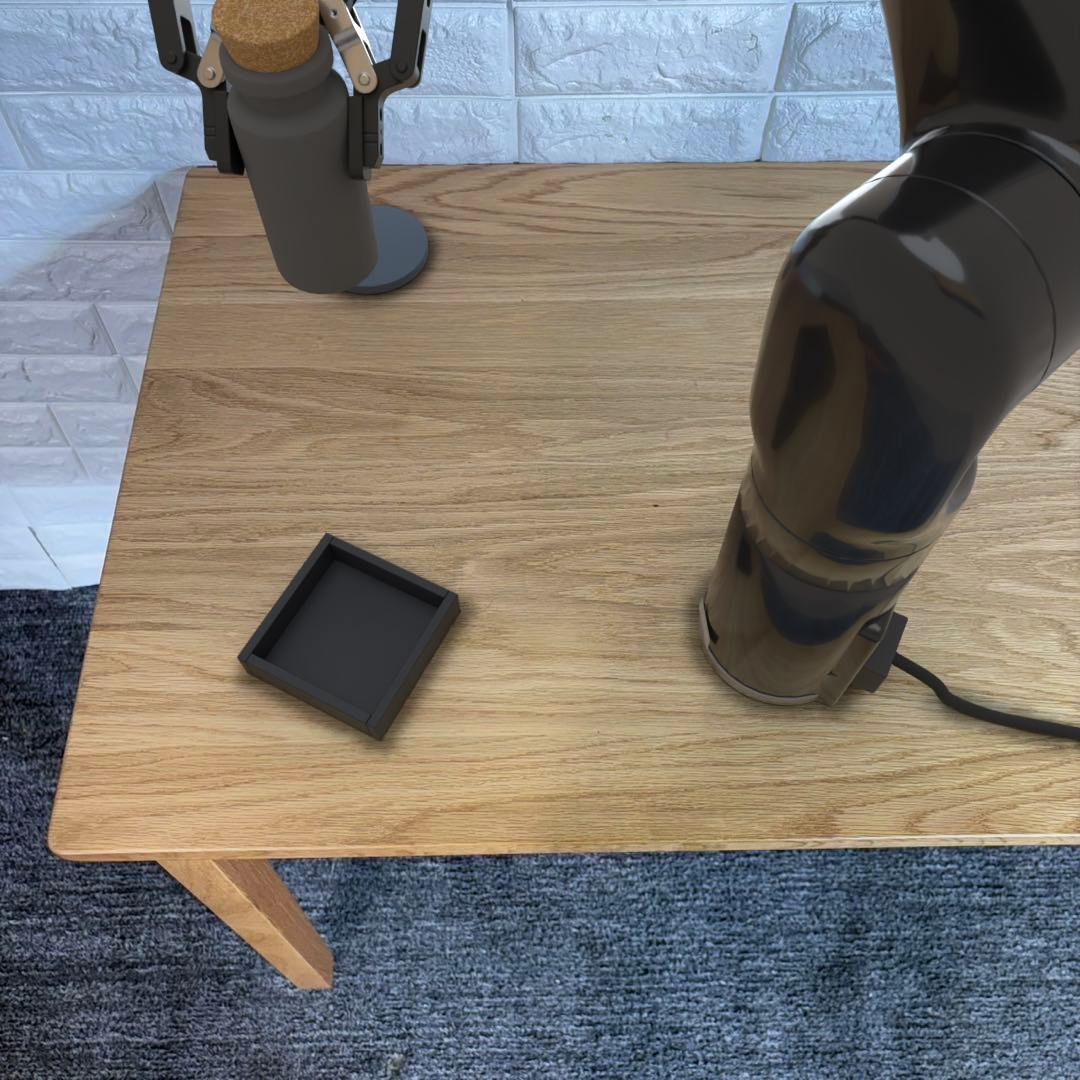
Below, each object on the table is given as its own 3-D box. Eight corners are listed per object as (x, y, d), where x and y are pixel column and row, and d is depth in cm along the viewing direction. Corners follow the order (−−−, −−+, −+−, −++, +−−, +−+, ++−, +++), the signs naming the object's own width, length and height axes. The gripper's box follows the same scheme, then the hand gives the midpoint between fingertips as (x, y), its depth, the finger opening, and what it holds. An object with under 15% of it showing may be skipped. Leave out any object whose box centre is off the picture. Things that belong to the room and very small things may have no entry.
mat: (448, 235, 76) (447, 227, 75) (391, 309, 72) (389, 301, 72) (355, 199, 78) (353, 191, 77) (294, 270, 74) (292, 262, 74)
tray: (461, 611, 60) (458, 593, 58) (380, 742, 56) (374, 728, 54) (333, 550, 62) (326, 531, 60) (246, 672, 58) (236, 657, 56)
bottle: (363, 303, 55) (308, 57, 42) (262, 287, 56) (177, 40, 43) (391, 228, 58) (348, -25, 45) (295, 213, 59) (224, -40, 46)
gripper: (89, -263, 42) (120, 165, 46) (432, -254, 41) (429, 177, 46) (161, -187, 49) (182, 177, 54) (453, -179, 49) (449, 187, 53)
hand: (296, 175), depth 50 cm, fingers closed on bottle, 6 cm apart
